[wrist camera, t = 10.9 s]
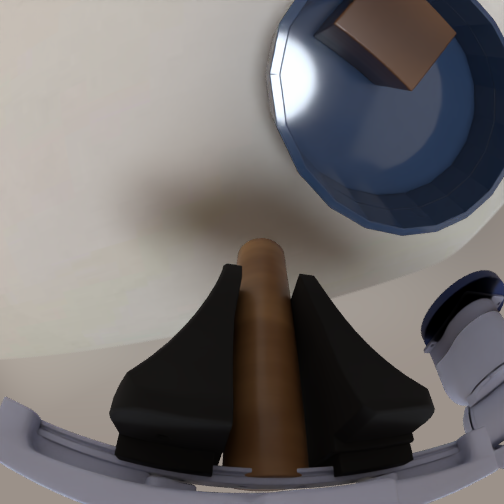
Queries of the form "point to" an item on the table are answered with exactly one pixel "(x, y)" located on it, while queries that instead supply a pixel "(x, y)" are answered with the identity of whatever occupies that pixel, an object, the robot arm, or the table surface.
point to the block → (387, 39)
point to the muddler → (265, 371)
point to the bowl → (392, 122)
